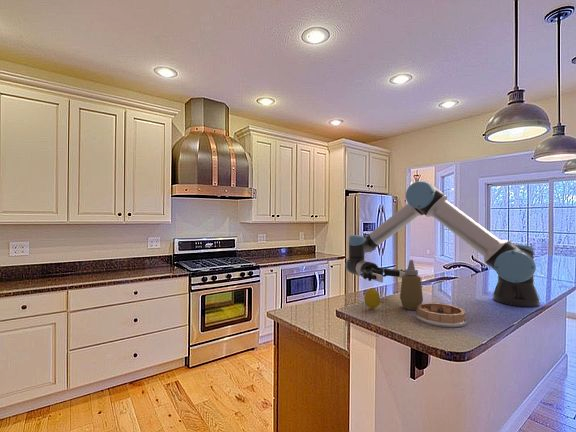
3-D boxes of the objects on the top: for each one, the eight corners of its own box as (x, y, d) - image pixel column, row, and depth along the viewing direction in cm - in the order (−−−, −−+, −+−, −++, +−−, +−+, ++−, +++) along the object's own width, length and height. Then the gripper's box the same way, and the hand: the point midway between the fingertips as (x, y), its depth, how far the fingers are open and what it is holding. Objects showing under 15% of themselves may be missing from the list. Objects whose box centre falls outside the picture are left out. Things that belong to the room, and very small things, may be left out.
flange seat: (440, 311, 112) (440, 301, 112) (477, 324, 97) (477, 313, 97) (406, 315, 107) (406, 304, 107) (439, 329, 93) (439, 317, 93)
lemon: (369, 312, 110) (369, 289, 110) (361, 308, 116) (361, 286, 116) (383, 311, 112) (383, 289, 112) (374, 307, 117) (374, 285, 117)
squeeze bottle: (401, 310, 112) (401, 261, 113) (398, 304, 120) (398, 258, 121) (425, 312, 111) (424, 262, 111) (420, 306, 118) (420, 259, 119)
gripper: (390, 276, 147) (422, 285, 127) (343, 279, 140) (369, 289, 120) (390, 260, 148) (422, 267, 127) (343, 262, 140) (369, 270, 120)
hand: (396, 277), depth 123 cm, fingers open, 13 cm apart
